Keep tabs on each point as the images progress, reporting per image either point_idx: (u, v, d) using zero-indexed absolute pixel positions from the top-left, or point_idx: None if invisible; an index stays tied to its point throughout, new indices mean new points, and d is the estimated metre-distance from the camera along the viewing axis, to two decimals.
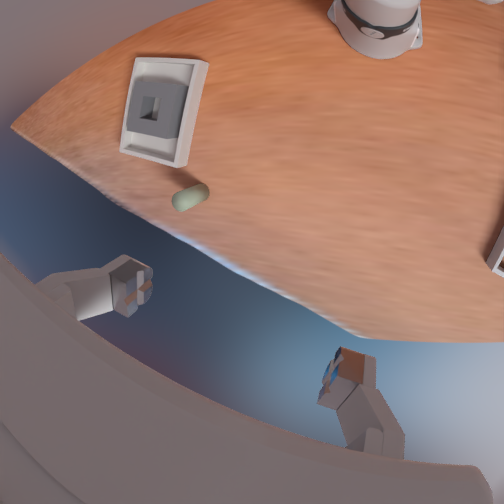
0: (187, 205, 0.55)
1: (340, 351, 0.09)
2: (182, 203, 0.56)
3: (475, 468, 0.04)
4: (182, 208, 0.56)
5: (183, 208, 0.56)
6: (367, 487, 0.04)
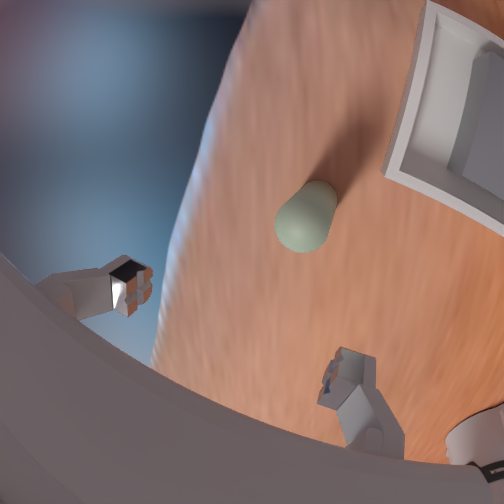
0: (291, 247, 0.21)
1: (340, 351, 0.09)
2: (296, 234, 0.21)
3: (475, 468, 0.04)
4: (283, 230, 0.21)
5: (283, 233, 0.21)
6: (367, 487, 0.04)
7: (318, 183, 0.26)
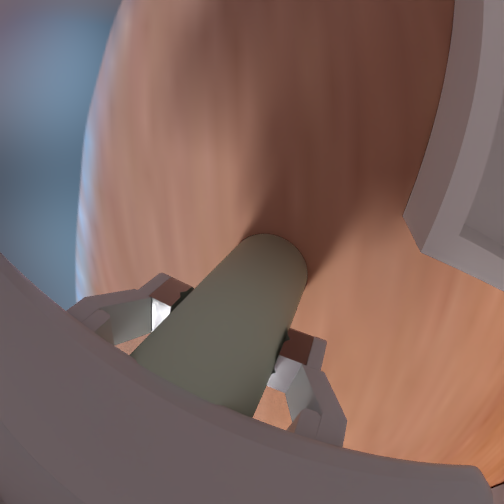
0: None
1: (288, 332, 0.10)
2: None
3: (475, 468, 0.04)
4: None
5: None
6: (367, 487, 0.04)
7: (260, 249, 0.12)
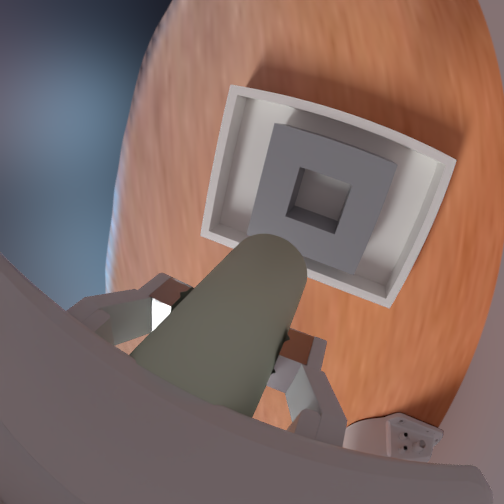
0: None
1: (288, 332, 0.10)
2: None
3: (475, 468, 0.04)
4: None
5: None
6: (367, 487, 0.04)
7: (260, 249, 0.12)
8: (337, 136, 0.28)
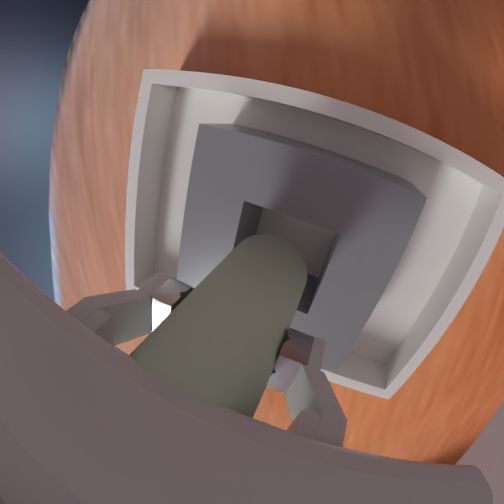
0: None
1: (287, 332, 0.10)
2: None
3: (475, 468, 0.04)
4: None
5: None
6: (367, 487, 0.04)
7: (260, 249, 0.12)
8: (318, 141, 0.16)
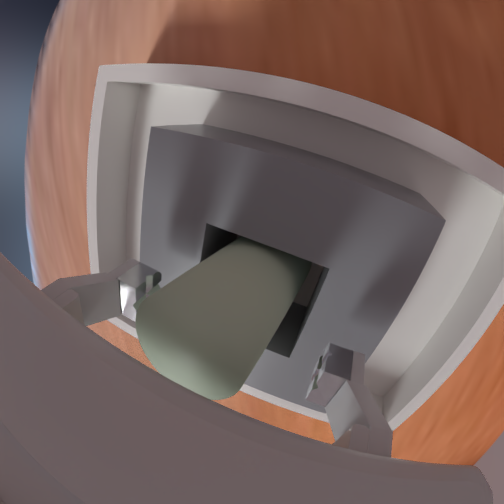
0: (176, 382, 0.09)
1: (328, 347, 0.09)
2: (179, 363, 0.08)
3: (475, 468, 0.04)
4: (153, 349, 0.09)
5: (155, 354, 0.09)
6: (367, 487, 0.04)
7: None
8: (305, 142, 0.13)
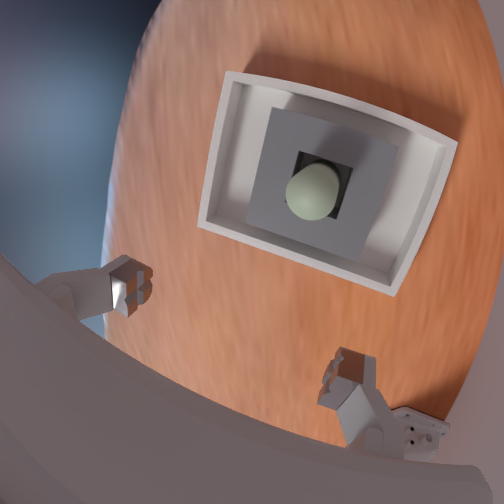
0: (302, 215, 0.23)
1: (340, 351, 0.09)
2: (306, 202, 0.22)
3: (475, 468, 0.04)
4: (293, 199, 0.22)
5: (294, 202, 0.22)
6: (367, 487, 0.04)
7: (323, 161, 0.27)
8: (336, 121, 0.26)
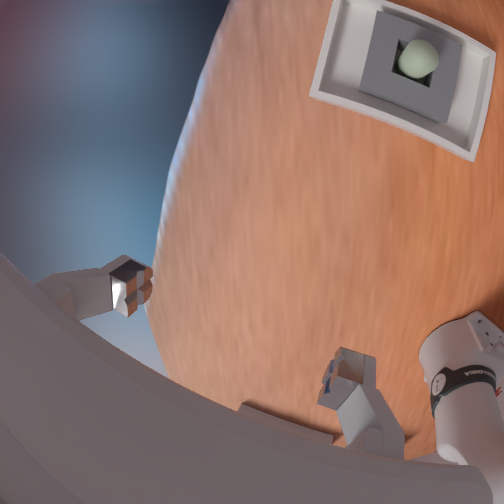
0: (418, 67, 0.22)
1: (340, 351, 0.09)
2: (420, 59, 0.21)
3: (475, 468, 0.04)
4: (411, 55, 0.21)
5: (412, 57, 0.21)
6: (367, 487, 0.04)
7: None
8: None
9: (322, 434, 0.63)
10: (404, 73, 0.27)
